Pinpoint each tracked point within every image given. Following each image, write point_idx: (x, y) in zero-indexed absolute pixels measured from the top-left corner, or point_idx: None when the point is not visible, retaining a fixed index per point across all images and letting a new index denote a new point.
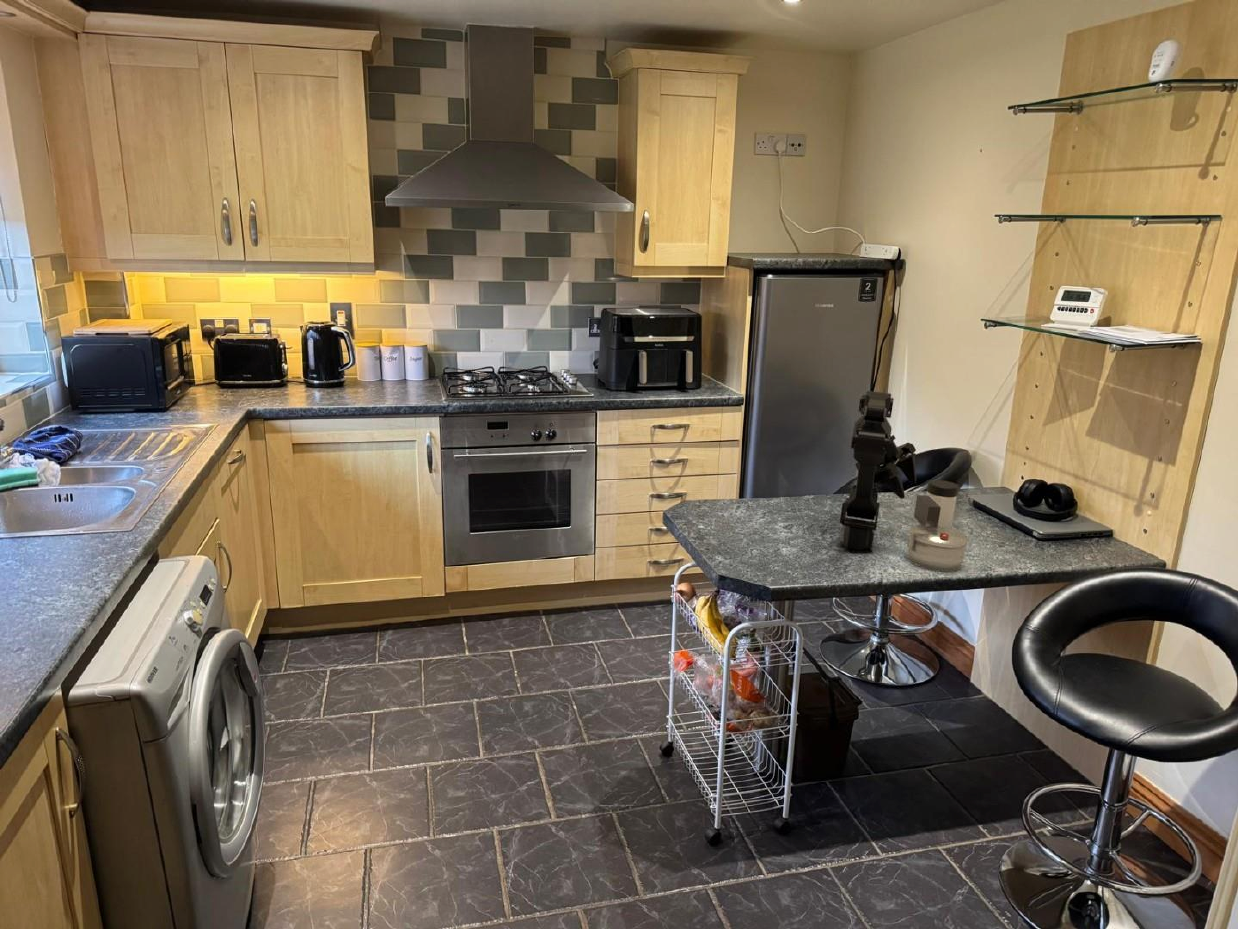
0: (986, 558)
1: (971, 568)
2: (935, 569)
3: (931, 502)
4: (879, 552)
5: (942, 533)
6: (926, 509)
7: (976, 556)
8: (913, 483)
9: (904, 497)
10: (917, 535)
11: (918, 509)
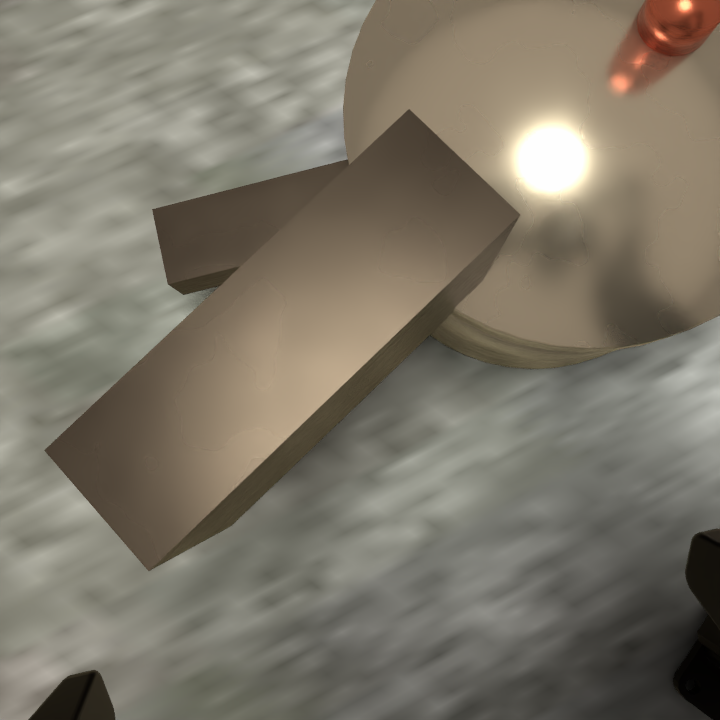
0: (195, 32)
1: None
2: None
3: (309, 281)
4: (706, 512)
5: (680, 18)
6: (465, 277)
7: (212, 83)
8: (107, 712)
9: (705, 531)
10: None
11: (282, 462)
